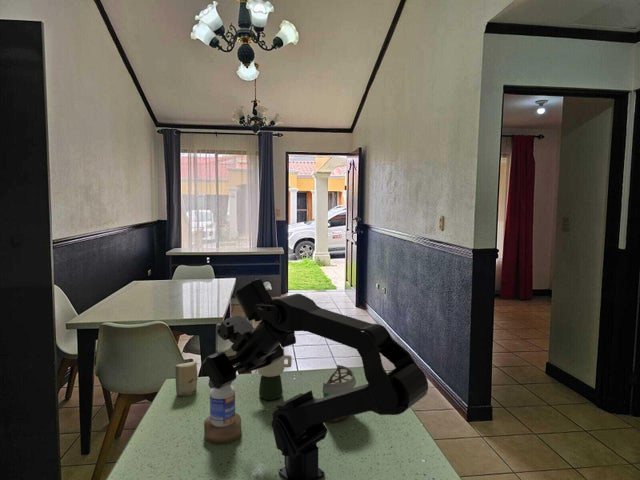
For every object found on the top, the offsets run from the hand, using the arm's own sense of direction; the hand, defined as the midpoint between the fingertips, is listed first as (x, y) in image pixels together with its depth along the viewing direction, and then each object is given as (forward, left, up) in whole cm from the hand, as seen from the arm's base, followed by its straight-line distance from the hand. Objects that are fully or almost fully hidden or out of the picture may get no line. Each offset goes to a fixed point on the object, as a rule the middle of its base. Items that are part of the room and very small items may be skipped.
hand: (226, 378), depth 91 cm
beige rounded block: (+26, -2, -13) cm, 29 cm away
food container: (-10, -26, -13) cm, 30 cm away
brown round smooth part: (+1, 0, -13) cm, 13 cm away
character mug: (+9, -18, -13) cm, 24 cm away
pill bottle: (+1, 0, -10) cm, 10 cm away
